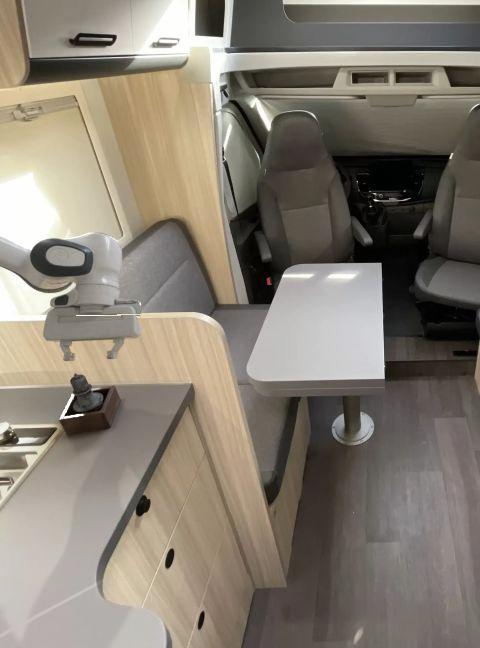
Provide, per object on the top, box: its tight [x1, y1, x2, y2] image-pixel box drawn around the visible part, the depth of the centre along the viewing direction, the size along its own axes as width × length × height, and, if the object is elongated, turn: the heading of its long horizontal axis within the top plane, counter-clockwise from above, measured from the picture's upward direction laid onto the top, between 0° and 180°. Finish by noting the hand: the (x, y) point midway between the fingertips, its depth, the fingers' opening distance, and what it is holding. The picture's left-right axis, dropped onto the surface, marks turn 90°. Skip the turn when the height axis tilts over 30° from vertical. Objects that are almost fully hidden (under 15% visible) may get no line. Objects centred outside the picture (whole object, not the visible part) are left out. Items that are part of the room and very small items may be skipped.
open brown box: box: [58, 384, 122, 436], centre depth 100 cm, size 9×9×5 cm
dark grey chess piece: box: [69, 373, 103, 414], centre depth 98 cm, size 6×6×12 cm
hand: (90, 359), depth 100 cm, fingers open, 8 cm apart
